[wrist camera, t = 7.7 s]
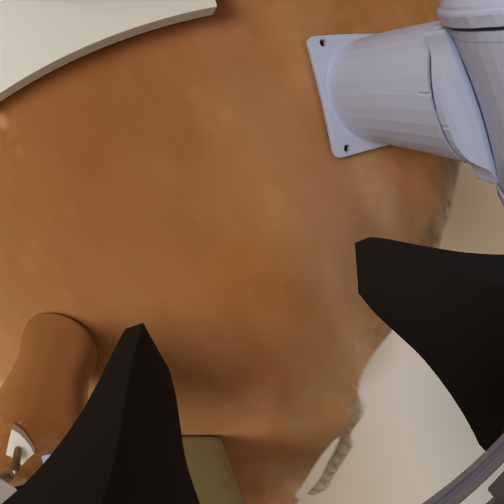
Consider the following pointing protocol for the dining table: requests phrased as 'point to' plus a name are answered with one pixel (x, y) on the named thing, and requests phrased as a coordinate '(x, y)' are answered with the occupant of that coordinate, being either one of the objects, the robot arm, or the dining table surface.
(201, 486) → the cheese
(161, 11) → the white rectangular board
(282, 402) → the dining table surface
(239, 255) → the dining table surface
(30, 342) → the beer glass
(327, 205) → the dining table surface
